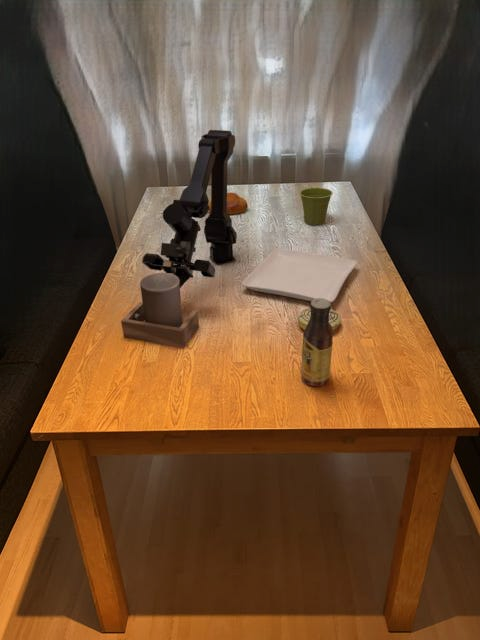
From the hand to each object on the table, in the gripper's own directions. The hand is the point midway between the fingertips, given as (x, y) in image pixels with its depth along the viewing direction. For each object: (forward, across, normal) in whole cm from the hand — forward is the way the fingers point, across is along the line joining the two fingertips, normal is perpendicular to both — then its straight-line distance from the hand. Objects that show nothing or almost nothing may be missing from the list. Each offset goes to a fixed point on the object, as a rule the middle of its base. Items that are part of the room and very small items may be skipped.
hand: (171, 296), depth 136 cm
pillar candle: (+8, 0, +1) cm, 9 cm away
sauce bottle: (+15, +41, -6) cm, 44 cm away
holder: (+9, 0, 0) cm, 9 cm away
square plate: (-16, +28, +26) cm, 41 cm away
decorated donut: (0, +38, +10) cm, 39 cm away
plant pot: (-49, +22, +59) cm, 80 cm away
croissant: (-52, -14, +62) cm, 82 cm away
